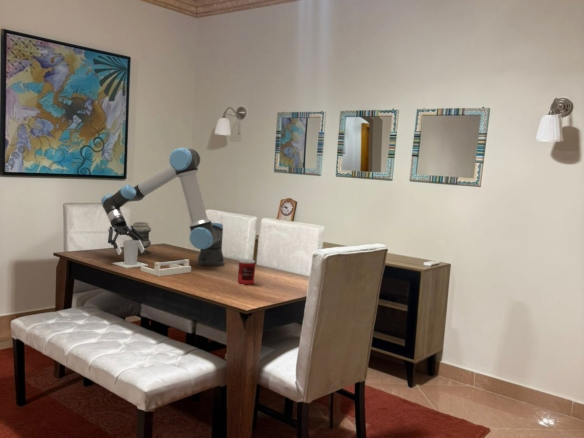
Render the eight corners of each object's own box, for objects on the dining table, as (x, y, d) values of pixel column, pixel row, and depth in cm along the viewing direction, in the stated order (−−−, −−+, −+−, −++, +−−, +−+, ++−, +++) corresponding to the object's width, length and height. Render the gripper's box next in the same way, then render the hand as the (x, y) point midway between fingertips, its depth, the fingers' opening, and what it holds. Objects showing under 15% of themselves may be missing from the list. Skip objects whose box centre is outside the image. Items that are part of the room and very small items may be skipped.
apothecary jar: (129, 250, 323) (130, 221, 321) (149, 251, 327) (151, 221, 325) (129, 254, 312) (130, 223, 310) (151, 254, 315) (152, 224, 313)
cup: (133, 265, 277) (134, 242, 276) (119, 264, 279) (120, 241, 278) (141, 263, 285) (141, 240, 284) (127, 261, 287) (128, 239, 286)
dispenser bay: (140, 270, 269) (140, 258, 269) (172, 266, 284) (172, 255, 284) (158, 276, 259) (159, 264, 259) (191, 272, 274) (191, 260, 273)
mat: (134, 261, 291) (134, 260, 291) (148, 265, 283) (148, 264, 283) (112, 263, 281) (112, 262, 281) (126, 268, 273) (126, 267, 273)
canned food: (245, 280, 262) (246, 258, 261) (257, 284, 257) (258, 261, 256) (234, 282, 256) (235, 260, 255) (246, 286, 251) (247, 262, 250)
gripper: (134, 223, 300) (149, 254, 292) (92, 225, 281) (107, 258, 273) (140, 215, 296) (155, 246, 288) (98, 216, 277) (113, 249, 269)
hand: (131, 252), depth 281 cm, fingers open, 13 cm apart
